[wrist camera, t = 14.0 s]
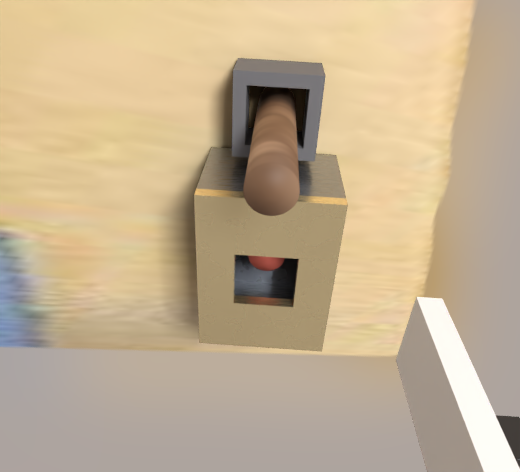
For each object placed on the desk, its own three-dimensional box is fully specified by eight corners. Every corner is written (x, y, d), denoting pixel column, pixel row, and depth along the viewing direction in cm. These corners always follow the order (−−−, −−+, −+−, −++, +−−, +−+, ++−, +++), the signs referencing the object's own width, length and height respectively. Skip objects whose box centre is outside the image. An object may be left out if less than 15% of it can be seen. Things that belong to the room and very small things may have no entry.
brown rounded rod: (257, 118, 38) (242, 214, 25) (259, 82, 37) (243, 163, 23) (293, 120, 38) (297, 217, 25) (296, 84, 36) (302, 167, 23)
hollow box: (212, 279, 48) (199, 342, 40) (211, 147, 40) (193, 194, 32) (316, 287, 48) (321, 351, 40) (336, 155, 40) (347, 205, 32)
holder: (236, 137, 39) (231, 156, 36) (238, 58, 36) (233, 70, 32) (312, 142, 39) (314, 161, 36) (321, 63, 35) (325, 75, 32)
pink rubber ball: (249, 250, 43) (247, 269, 40) (251, 221, 41) (248, 239, 38) (283, 252, 43) (283, 272, 40) (286, 223, 41) (286, 242, 38)
